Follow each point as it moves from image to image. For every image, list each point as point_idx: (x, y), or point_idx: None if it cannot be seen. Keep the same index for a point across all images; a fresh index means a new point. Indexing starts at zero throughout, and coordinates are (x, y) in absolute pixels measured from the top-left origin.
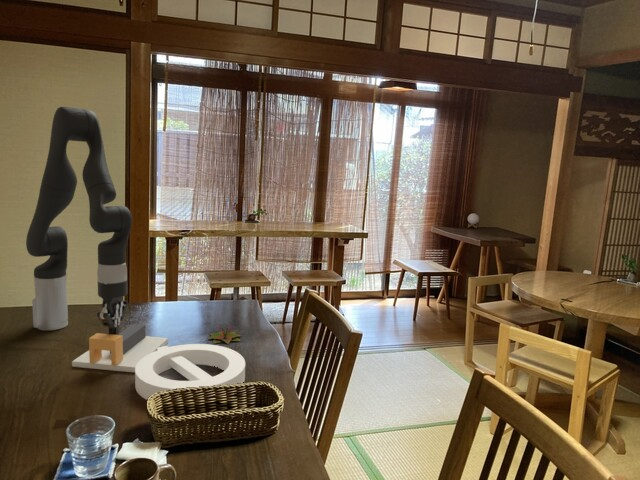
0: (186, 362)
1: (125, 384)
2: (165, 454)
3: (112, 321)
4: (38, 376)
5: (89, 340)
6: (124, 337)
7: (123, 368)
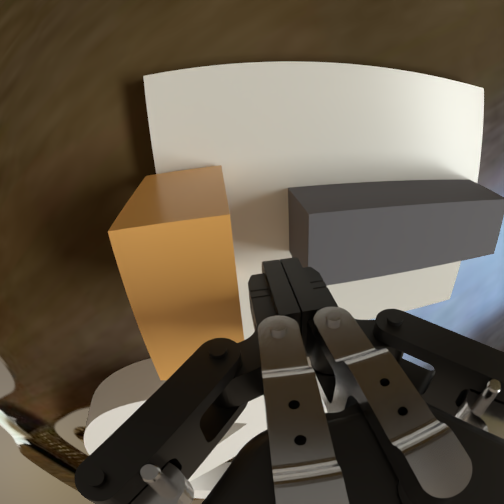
0: (243, 444)
1: (115, 345)
2: (24, 442)
3: (227, 428)
4: (34, 38)
5: (113, 227)
6: (362, 261)
7: None
